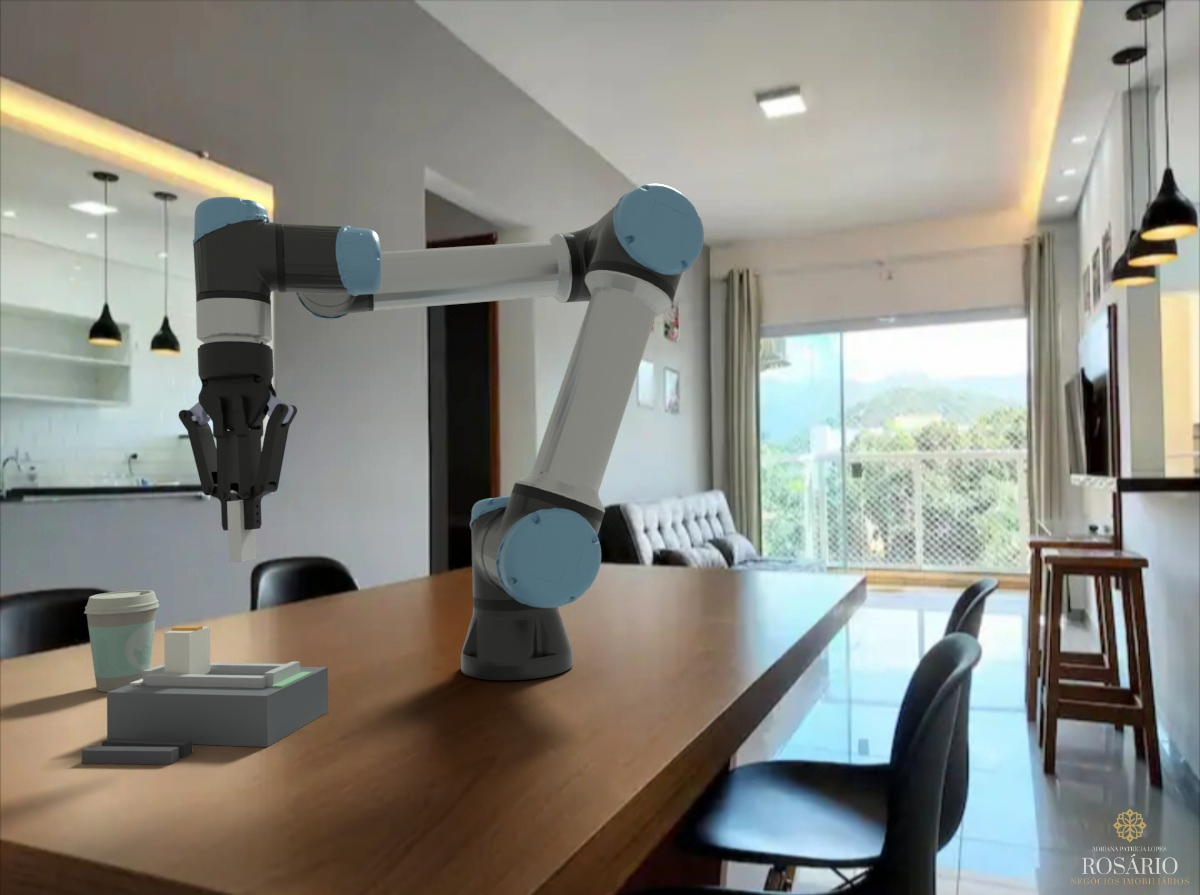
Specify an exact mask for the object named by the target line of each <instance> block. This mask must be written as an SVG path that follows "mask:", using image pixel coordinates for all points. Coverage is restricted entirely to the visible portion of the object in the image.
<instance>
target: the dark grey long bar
mask: <svg viewBox="0 0 1200 895" xmlns="http://www.w3.org/2000/svg"><path fill="white" fill-rule="evenodd" d="M101 746H124V747H179V758H185V757H188V756H189V755H191V754H193V752H194V751H193V744H192V741H191V740H161V739H131V738H109V739H105V740H103V741H101Z"/></svg>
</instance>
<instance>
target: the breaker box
mask: <svg viewBox="0 0 1200 895" xmlns="http://www.w3.org/2000/svg"><path fill="white" fill-rule="evenodd" d="M328 673H329V672H328V667H327V666H320V667H319V666H301V661H290V662H287V663H256V662H255V663H251V662H250V663H245V662H242V663H241V662H238V663H237V662H210V672H209V673H207V674H165V663H162V664H159V665H157V666H152V667H150V669H147V670H144V671H143V679H140V680H137V681H134V682H131V683H130V684H129V685H126V686H124V687H121V688H118V689H115V690H112V691H109V692H106V733H107V734H106V738H107V739H109V738H131V739H161V740H191V741H192V745H201V746H204V745H205V746H228V747H230V746H233V747H258V748H259V747H260V748H261V747H262V748H269V747H270V746H272V745H273V744H275V743H277V742H278V741H281V740H282V739H284V738H285V737H287V736H289V735H291V734H292V733H294V732H296V731H297V730H299V729H301V728H303V727H305V726H306V725H308V724H309V723H311V722H313V721H315V720H316V719H319V717H322V716H323V715H325V714H327V713H328V712H329V676H328ZM107 739H106V740H107Z"/></svg>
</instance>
